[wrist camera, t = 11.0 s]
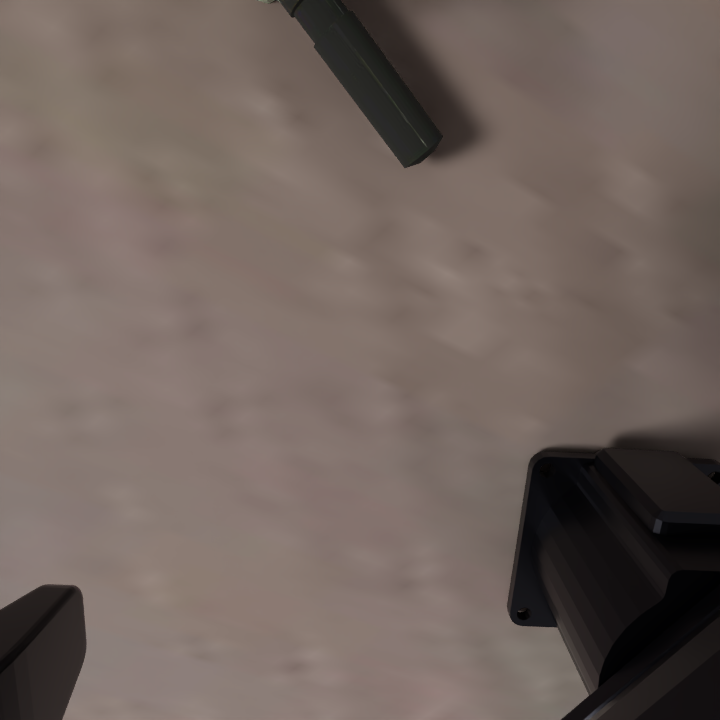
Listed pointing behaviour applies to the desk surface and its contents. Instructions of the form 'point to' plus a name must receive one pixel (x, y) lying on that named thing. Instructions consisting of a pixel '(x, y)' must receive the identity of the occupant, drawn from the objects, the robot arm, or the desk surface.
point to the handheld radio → (367, 77)
